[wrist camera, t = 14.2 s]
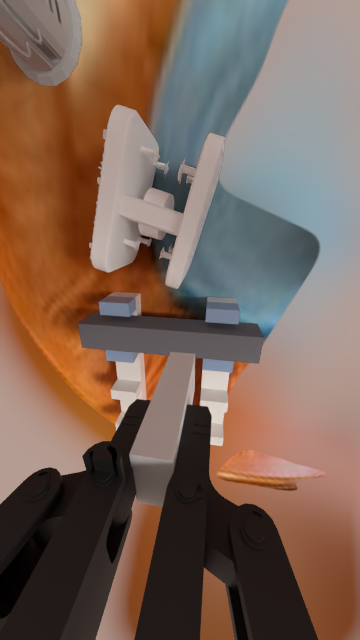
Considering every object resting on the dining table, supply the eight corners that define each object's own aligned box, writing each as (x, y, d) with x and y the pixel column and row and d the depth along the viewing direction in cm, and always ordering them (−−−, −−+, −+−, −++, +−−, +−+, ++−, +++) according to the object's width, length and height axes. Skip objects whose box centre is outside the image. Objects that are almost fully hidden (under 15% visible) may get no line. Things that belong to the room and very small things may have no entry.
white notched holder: (236, 298, 34) (240, 310, 29) (221, 421, 44) (222, 446, 39) (114, 291, 36) (98, 301, 31) (126, 409, 47) (116, 431, 42)
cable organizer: (186, 278, 34) (174, 301, 23) (122, 256, 34) (82, 269, 23) (223, 167, 28) (229, 130, 17) (145, 141, 28) (103, 87, 17)
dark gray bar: (257, 323, 32) (263, 337, 28) (253, 347, 34) (258, 363, 30) (93, 312, 36) (77, 323, 32) (96, 334, 37) (82, 347, 33)
